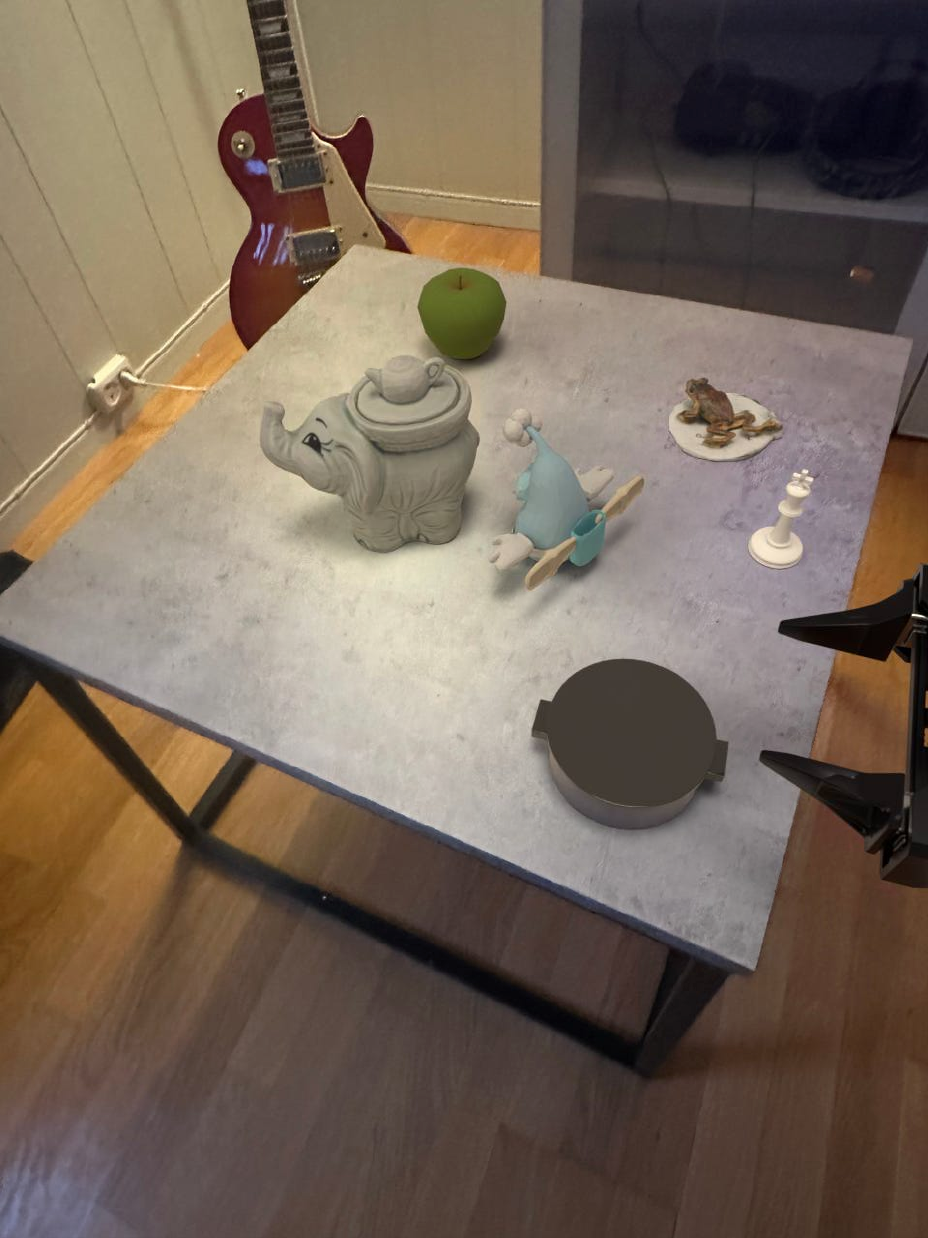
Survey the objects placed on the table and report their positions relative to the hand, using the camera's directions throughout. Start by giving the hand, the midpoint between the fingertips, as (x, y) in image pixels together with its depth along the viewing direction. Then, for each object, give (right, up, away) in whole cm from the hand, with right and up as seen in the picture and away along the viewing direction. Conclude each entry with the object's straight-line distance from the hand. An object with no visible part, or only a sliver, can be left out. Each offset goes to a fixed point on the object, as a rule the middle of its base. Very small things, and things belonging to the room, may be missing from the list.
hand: (769, 688), depth 47 cm
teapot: (-27, +14, +32) cm, 44 cm away
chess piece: (+11, +11, +26) cm, 30 cm away
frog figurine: (+9, +26, +37) cm, 46 cm away
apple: (-19, +38, +49) cm, 65 cm away
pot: (-6, -7, +14) cm, 17 cm away
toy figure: (-11, +11, +28) cm, 32 cm away
